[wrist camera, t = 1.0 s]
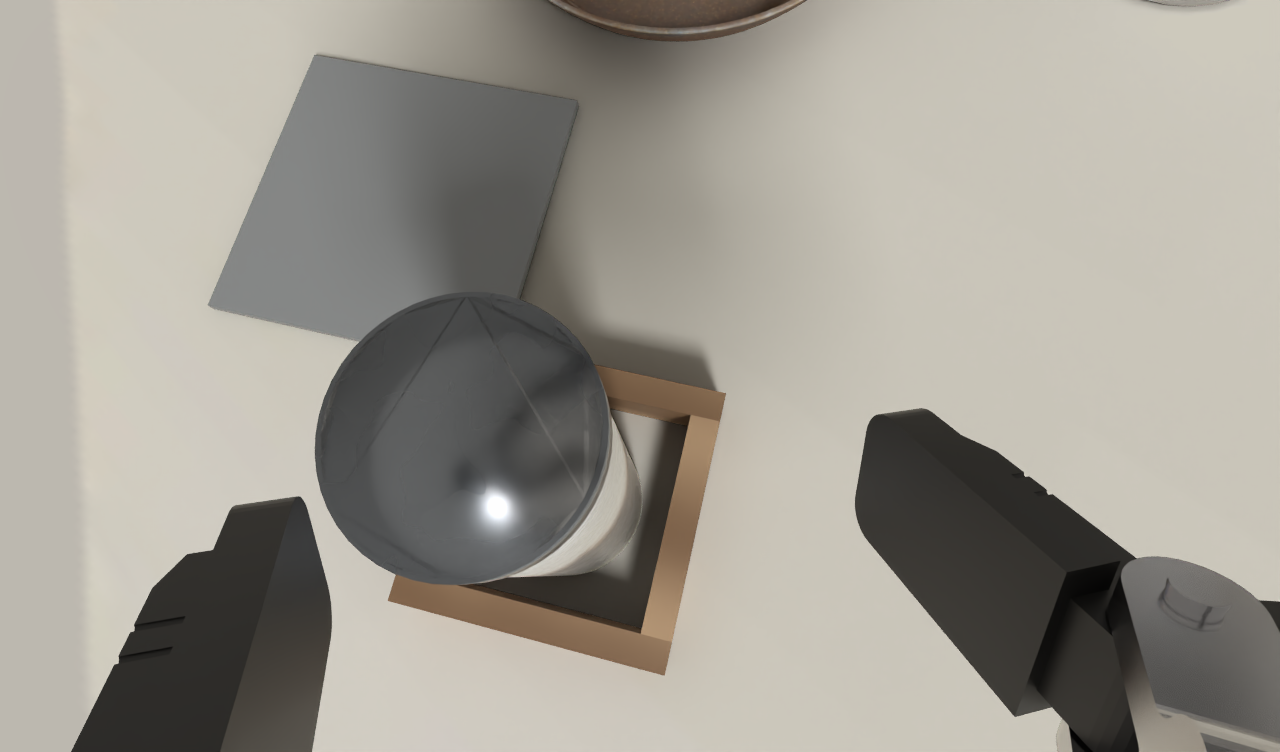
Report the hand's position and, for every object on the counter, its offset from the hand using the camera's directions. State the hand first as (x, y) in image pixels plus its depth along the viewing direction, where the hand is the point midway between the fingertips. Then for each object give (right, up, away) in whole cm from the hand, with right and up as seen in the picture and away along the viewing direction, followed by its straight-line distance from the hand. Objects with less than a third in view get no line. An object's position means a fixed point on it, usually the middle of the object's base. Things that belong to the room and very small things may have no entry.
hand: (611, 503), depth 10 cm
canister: (-2, -3, +15) cm, 16 cm away
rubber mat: (-9, +9, +19) cm, 23 cm away
